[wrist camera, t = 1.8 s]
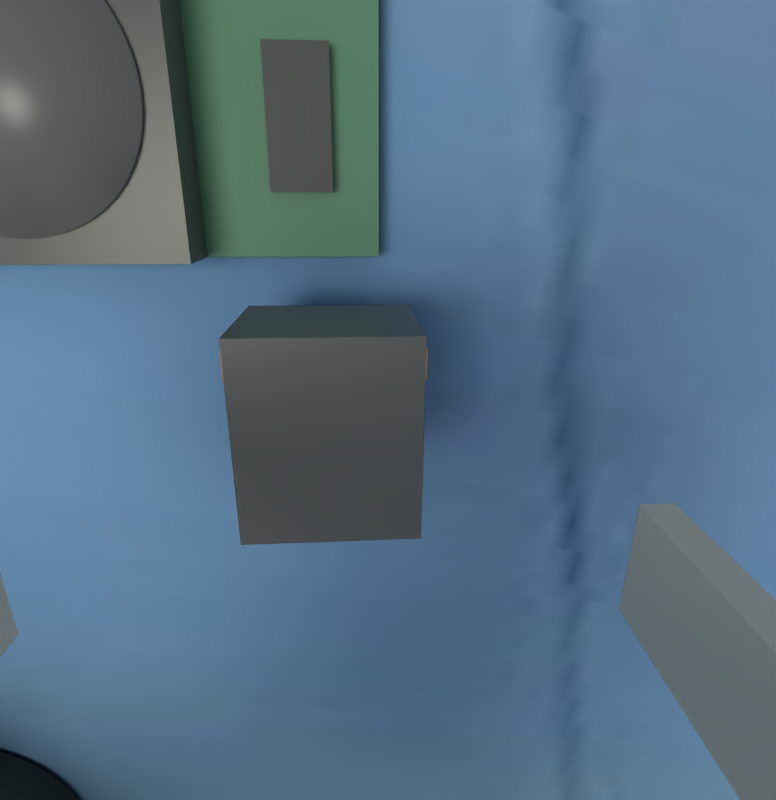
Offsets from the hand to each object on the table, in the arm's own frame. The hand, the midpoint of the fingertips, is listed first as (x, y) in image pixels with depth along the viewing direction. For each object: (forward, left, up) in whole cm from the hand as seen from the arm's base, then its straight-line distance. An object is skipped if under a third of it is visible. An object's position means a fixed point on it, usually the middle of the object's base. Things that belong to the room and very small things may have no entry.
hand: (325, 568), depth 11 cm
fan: (+10, +11, -14) cm, 20 cm away
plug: (0, 0, -15) cm, 15 cm away
